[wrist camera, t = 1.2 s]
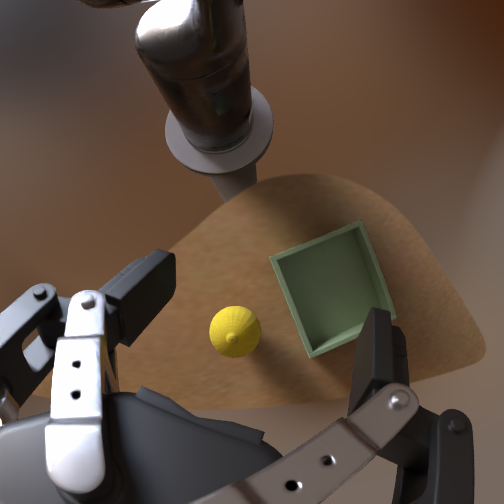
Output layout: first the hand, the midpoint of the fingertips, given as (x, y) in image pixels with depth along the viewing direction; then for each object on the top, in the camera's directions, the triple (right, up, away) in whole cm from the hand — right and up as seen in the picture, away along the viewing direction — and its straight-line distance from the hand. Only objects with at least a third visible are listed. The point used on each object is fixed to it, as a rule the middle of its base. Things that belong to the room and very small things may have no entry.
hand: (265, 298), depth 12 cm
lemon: (-2, -7, +25) cm, 27 cm away
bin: (+9, -3, +25) cm, 27 cm away
